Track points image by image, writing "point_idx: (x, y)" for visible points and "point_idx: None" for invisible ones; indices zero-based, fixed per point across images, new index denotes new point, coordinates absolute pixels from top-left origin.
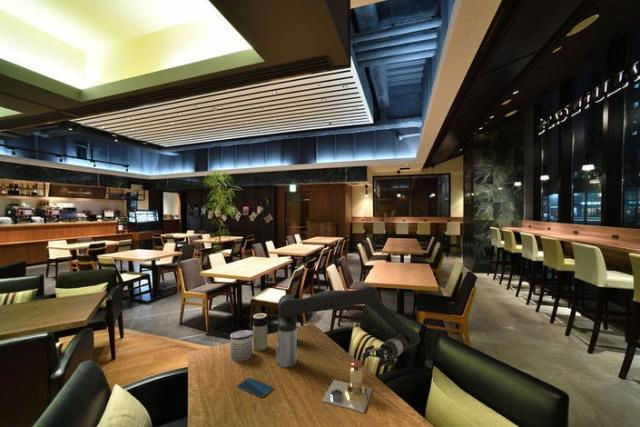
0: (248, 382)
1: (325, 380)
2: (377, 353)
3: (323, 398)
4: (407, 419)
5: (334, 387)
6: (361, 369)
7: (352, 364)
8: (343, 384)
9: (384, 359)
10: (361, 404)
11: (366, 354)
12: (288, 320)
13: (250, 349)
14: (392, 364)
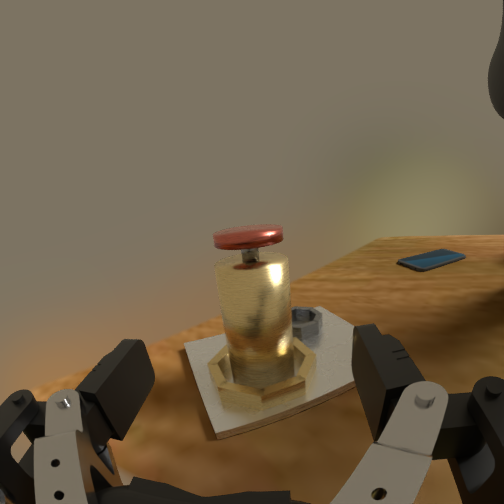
0: (449, 254)
1: (420, 343)
2: (257, 499)
3: (320, 308)
4: (56, 384)
5: (351, 339)
6: (218, 266)
7: (251, 225)
8: (349, 367)
9: (80, 391)
10: (205, 352)
11: (366, 367)
12: None
13: None
14: (28, 459)
